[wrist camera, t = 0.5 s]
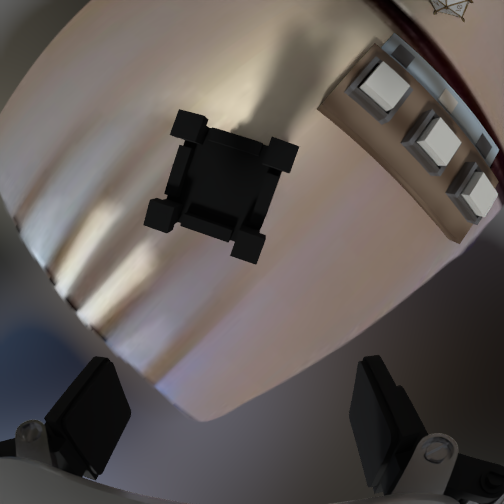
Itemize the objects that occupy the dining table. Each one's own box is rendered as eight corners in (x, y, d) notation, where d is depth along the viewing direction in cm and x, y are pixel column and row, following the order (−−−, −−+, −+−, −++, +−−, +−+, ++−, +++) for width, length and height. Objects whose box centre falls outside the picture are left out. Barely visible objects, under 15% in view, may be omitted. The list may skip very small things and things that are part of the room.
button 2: (376, 67, 27) (383, 61, 25) (401, 90, 27) (410, 85, 25) (358, 88, 28) (364, 82, 25) (384, 112, 28) (392, 108, 26)
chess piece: (263, 221, 37) (260, 272, 18) (202, 200, 37) (136, 229, 17) (285, 160, 35) (308, 142, 15) (223, 139, 34) (175, 101, 15)
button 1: (472, 171, 29) (483, 172, 27) (487, 192, 30) (498, 194, 27) (458, 193, 30) (469, 195, 28) (474, 214, 30) (484, 217, 28)
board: (388, 29, 29) (402, 13, 24) (500, 154, 32) (522, 154, 27) (317, 109, 33) (325, 99, 28) (448, 239, 36) (469, 248, 31)
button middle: (430, 120, 28) (440, 117, 26) (450, 143, 28) (461, 142, 26) (414, 142, 29) (424, 140, 27) (436, 165, 29) (446, 165, 27)
